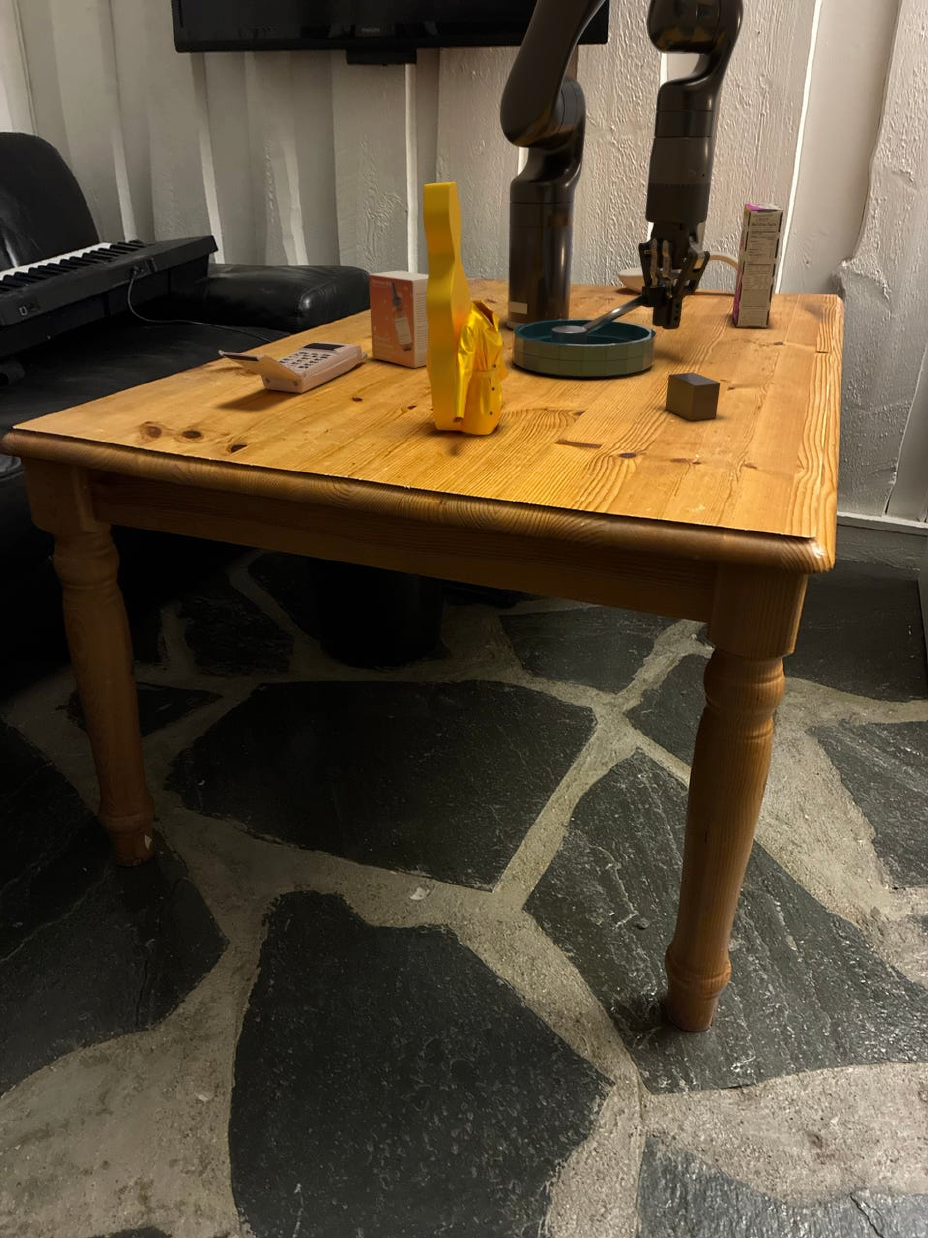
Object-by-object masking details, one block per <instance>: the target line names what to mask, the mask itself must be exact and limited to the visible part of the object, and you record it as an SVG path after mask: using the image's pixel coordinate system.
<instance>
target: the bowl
mask: <svg viewBox="0 0 928 1238" xmlns="http://www.w3.org/2000/svg"><path fill="white" fill-rule="evenodd" d="M595 319H596V318H569V319H559V320H546V321H539V322H532V323H528V324H524V325H521V326H518V327H517V328H515V329H512V355H511V356H512V357H511V358H512V361H513V364H515V365H517V366H519V367H521V368H522V369H525V370H529V371H532V372H535V373H538V374H543V375H547V376H554V377H562V378H575V379H598V378H599V379H600V378H613V377H620V376H625V375H630V374H634V373H636V372H641V371H644V370H647V369H648V368H651V367H652V366H653V364H654V362H655V352H656V341H657V331H655V330H654V329H653V328H651V327H648V326H646V325H642V324H638V323H634V322H627V321H620V320H614V321H612V322H610V323H608V324H606V325H604V326H602V327H600V328H598V329H597V330H595V331H593V332H591V333H589V334H587V339H586V345H580V344H561V343H553V342H551V335H552V328H554V327H559V326H580V327H582V326H583V325H585V324H587V323H589V322H591V321H593V320H595Z"/></svg>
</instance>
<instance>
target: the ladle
mask: <svg viewBox="0 0 928 1238" xmlns="http://www.w3.org/2000/svg"><path fill="white" fill-rule="evenodd" d="M665 286H666V284H664V285H651V286H642V293H640V295H638V296H636V297H634V298H632V299H630V300H628V301H627V302H625V303H623V304H621V305H620V306H617V307H615V308H614V309H612V310H610V311H608V312H606V313H604V314H602V315H601V316H599V317H597V318H594V319H595V320H593V321H591V322H589V323H587V324H585V325H583V326H582V327H580V326H559V327H554V328H552V335H551V342H553V343H561V344H580V345H586V339H587V334H589V333H591V332H593V331H595V330H597V329H598V328H600V327H602V326H604V325H606V324H608V323H610V322H612V321H616V320H617V319H619V318H621V317H623V316H625V315H626V314H629V313H630V312H632V311H634V310H635V309H639V308H640V307H644V308H648V309H650V308H653V307H663V306H664V300H665V299H666V297H665ZM674 286H675V284H674Z"/></svg>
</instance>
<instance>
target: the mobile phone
mask: <svg viewBox="0 0 928 1238" xmlns="http://www.w3.org/2000/svg"><path fill="white" fill-rule="evenodd" d="M218 354H219V355H220V356H222V357H224V358H226V359H228V360H230V361H232V362H234V363H236V364H238V365H240V366H242V367H244V368H246V369H248V370H249V371H251V372H253V373H255V374H257V375H259V376H260V378H261V382H262V385H263V386H264V388H265V389H266V390H268V391H269V390H270V391H279V392H287V393H297V394H302V393H305V392H307V391H309V390H311V389H313V388H315V387H318V386H320V385H321V384H324V383H326V382H329V381H331V380H333V379H335V378H337V377H338V376H341V375H343V374H344V373H347V372H348V371H350V370H351V369H353V368H355V366H356V365H357V364H359V363H361V362H362V361H364V360H366V359H367V358H368V356H369V355H368V353H367V352H363V350H362V346H361V344H352V343H340V342H330V341H315V342H310V343H307V344H304V345H302V346H300V347H299V348H298V349H297V351H295V352H292V353H291V354H288V355H286V356H284V357H282V358H280V359H278V360H277V359H275V358H273V357H271V356H269V355H267V354H263V355H256V354H247V353H240V352H239V353H238V352H227V351H223V350H218Z"/></svg>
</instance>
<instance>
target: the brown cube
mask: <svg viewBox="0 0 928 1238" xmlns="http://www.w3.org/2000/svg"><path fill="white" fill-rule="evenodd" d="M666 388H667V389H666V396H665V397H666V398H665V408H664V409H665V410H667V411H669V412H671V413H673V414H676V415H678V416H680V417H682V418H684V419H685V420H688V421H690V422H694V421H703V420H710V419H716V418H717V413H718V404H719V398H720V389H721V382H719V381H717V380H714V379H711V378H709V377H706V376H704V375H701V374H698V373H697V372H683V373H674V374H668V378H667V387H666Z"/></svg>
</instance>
